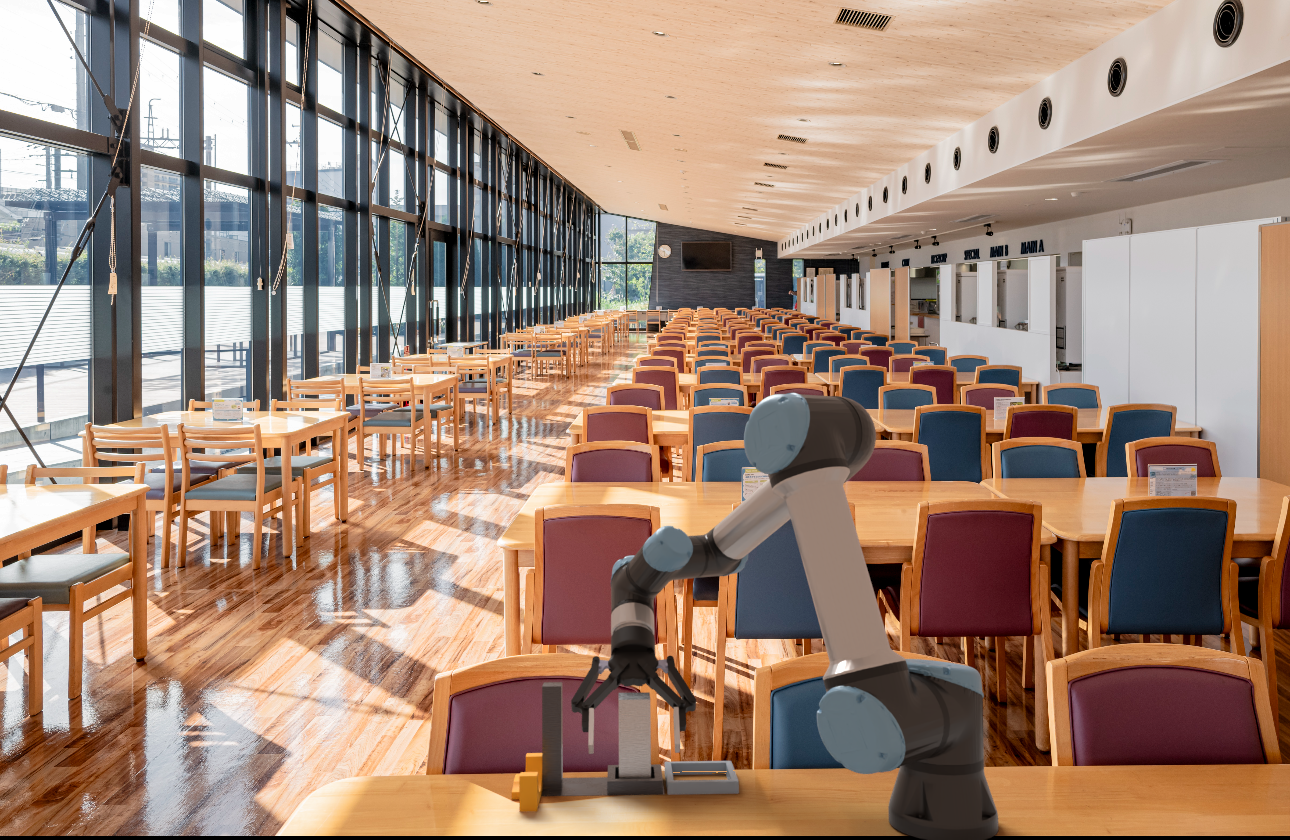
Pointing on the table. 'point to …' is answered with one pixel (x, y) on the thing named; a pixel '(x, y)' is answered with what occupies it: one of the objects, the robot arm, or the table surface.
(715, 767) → the parts tray
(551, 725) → the dark grey post stand
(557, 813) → the table surface
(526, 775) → the pipe clamp
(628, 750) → the light grey tall block
